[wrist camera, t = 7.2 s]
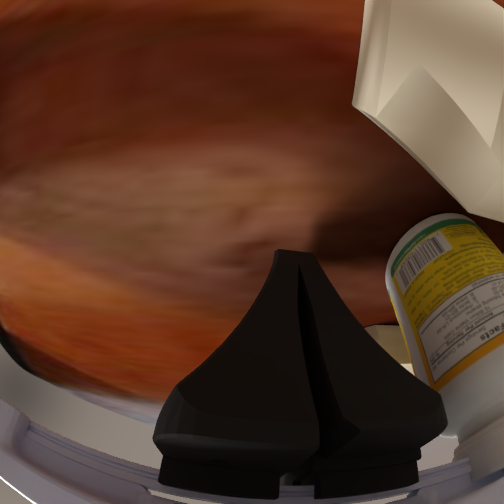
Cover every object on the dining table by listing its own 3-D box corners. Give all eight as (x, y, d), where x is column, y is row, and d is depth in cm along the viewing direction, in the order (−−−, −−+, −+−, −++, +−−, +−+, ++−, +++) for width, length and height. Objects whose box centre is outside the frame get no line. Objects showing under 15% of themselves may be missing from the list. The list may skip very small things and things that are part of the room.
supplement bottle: (388, 211, 10) (497, 468, 3) (491, 206, 10) (614, 382, 2) (376, 310, 13) (413, 506, 6) (464, 297, 13) (527, 457, 5)
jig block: (447, 382, 18) (455, 410, 16) (279, 387, 18) (278, 422, 16) (587, 113, 5) (619, 131, 3) (366, -27, 5) (395, -52, 3)
